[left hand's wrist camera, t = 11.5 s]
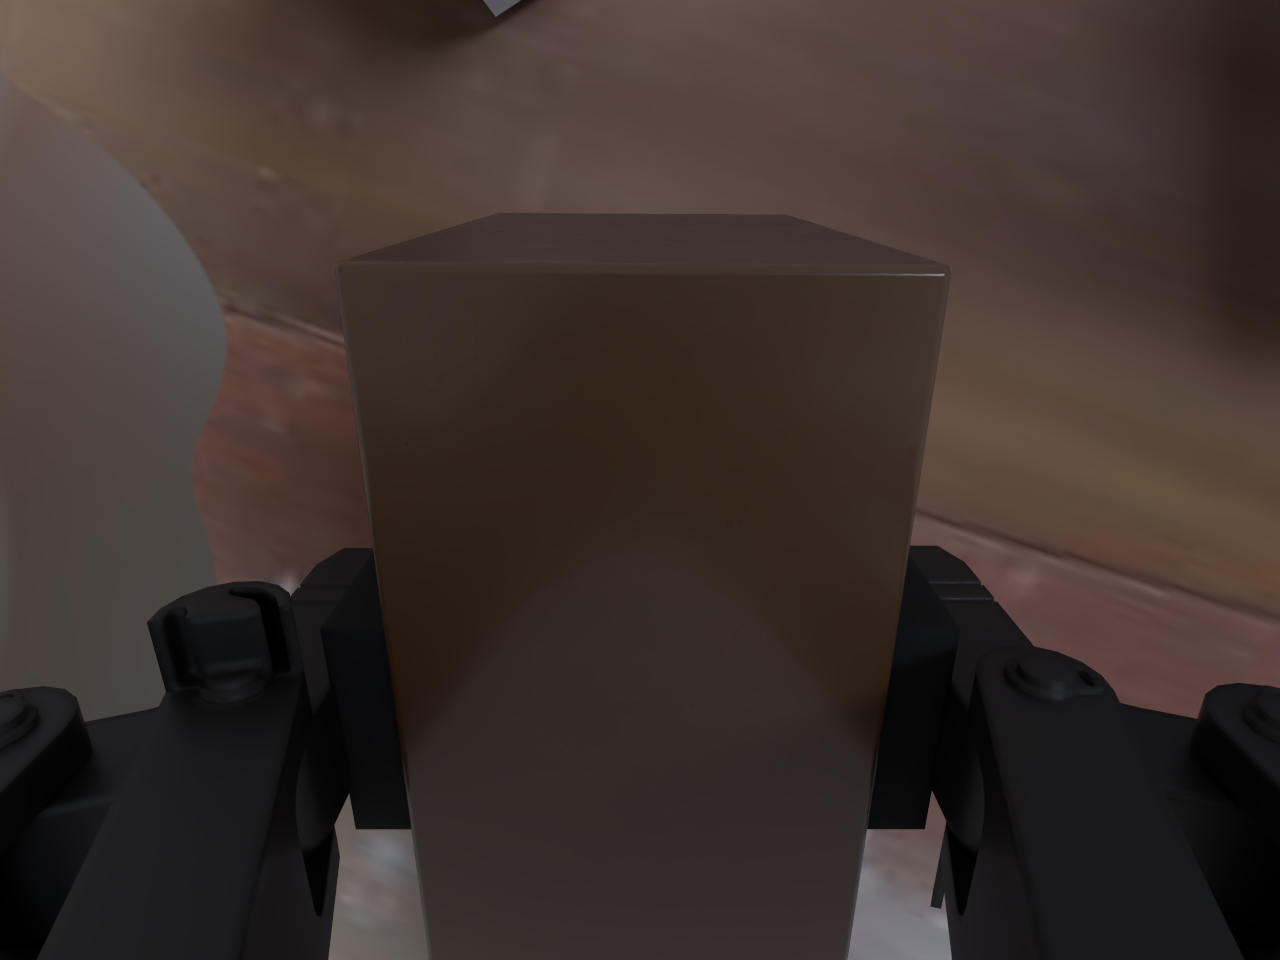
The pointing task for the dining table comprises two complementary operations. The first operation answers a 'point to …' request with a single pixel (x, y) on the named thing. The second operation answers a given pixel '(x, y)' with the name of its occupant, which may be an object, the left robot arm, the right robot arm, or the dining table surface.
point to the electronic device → (500, 5)
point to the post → (640, 569)
